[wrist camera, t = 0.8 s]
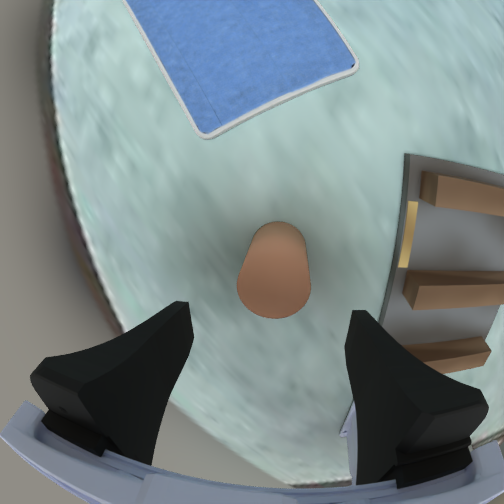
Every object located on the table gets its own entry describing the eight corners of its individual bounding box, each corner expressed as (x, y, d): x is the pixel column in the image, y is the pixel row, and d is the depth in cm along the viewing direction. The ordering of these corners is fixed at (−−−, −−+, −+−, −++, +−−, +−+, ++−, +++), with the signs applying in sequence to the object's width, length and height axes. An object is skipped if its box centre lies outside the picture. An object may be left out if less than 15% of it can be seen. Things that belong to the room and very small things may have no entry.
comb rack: (473, 351, 22) (485, 371, 19) (366, 362, 24) (373, 389, 20) (522, 181, 15) (546, 189, 11) (404, 153, 16) (426, 156, 13)
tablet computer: (118, -11, 13) (110, -16, 12) (239, -74, 10) (236, -81, 8) (205, 144, 19) (199, 145, 17) (362, 73, 15) (367, 68, 14)
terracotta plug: (304, 273, 21) (307, 319, 15) (251, 271, 21) (238, 316, 16) (306, 222, 19) (313, 255, 14) (250, 220, 20) (235, 252, 14)
